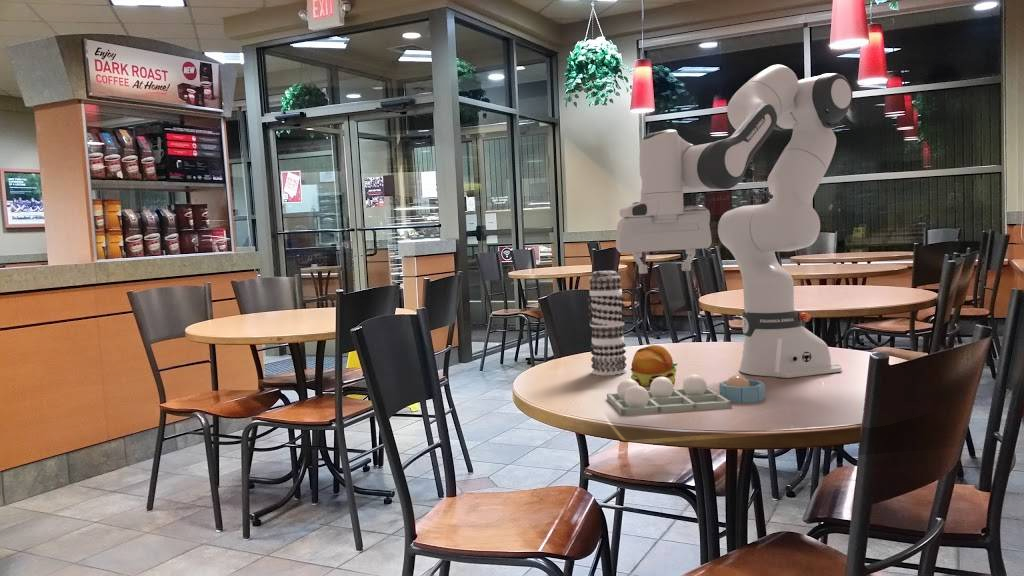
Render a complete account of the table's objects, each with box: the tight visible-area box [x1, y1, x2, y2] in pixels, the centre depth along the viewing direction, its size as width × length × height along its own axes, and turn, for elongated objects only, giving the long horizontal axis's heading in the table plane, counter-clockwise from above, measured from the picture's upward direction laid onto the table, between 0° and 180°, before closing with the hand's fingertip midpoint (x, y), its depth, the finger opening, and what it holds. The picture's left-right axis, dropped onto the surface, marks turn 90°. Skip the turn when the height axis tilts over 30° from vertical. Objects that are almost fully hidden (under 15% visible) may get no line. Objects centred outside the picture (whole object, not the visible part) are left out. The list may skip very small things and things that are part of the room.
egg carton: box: [606, 373, 733, 416], centre depth 148 cm, size 21×14×5 cm
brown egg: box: [726, 374, 750, 387], centre depth 149 cm, size 5×5×5 cm
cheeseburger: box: [629, 344, 678, 388], centre depth 169 cm, size 10×11×10 cm
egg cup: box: [719, 378, 766, 404], centre depth 150 cm, size 8×8×4 cm
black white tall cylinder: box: [586, 270, 628, 376], centre depth 187 cm, size 9×9×25 cm
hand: (664, 272), depth 163 cm, fingers open, 8 cm apart
